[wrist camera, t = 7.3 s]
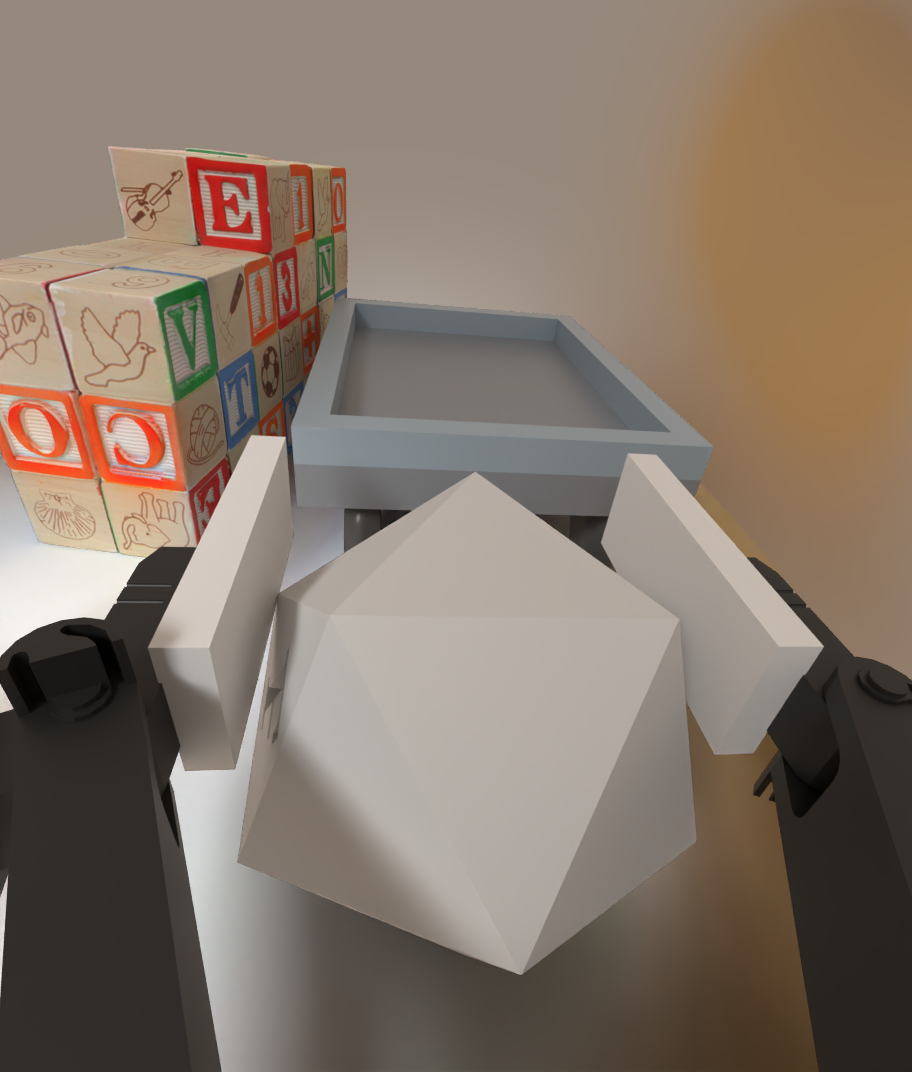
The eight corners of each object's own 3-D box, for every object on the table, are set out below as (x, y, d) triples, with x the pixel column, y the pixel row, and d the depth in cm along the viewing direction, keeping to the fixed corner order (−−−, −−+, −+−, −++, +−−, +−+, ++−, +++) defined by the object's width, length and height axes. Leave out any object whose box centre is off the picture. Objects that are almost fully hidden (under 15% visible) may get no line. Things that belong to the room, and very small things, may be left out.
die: (401, 646, 19) (168, 481, 11) (666, 582, 16) (586, 309, 8) (399, 950, 14) (0, 1008, 7) (773, 936, 11) (800, 1005, 4)
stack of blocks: (206, 571, 20) (124, 160, 13) (35, 549, 20) (-135, 130, 13) (350, 380, 38) (347, 162, 31) (259, 369, 38) (236, 149, 31)
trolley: (303, 592, 19) (291, 426, 16) (339, 407, 33) (337, 297, 30) (655, 596, 21) (714, 446, 18) (549, 419, 35) (570, 316, 31)
